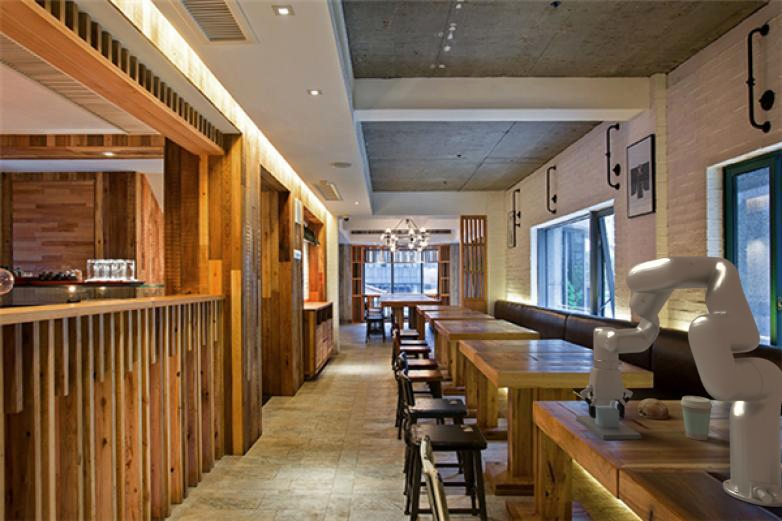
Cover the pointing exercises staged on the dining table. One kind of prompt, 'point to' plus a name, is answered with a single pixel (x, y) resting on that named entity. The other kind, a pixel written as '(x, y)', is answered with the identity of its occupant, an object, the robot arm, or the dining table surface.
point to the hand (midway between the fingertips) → (606, 417)
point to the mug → (603, 401)
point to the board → (608, 430)
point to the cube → (607, 416)
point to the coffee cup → (696, 416)
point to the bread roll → (653, 409)
